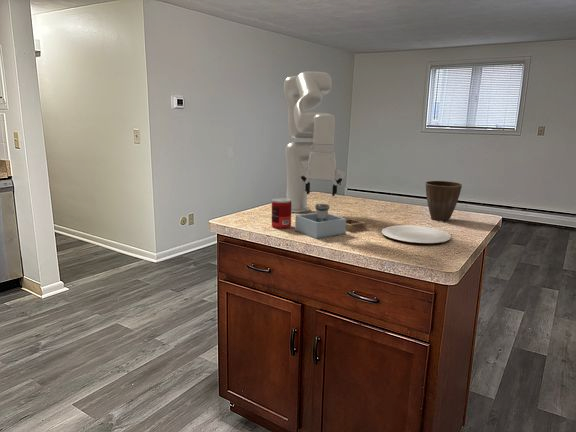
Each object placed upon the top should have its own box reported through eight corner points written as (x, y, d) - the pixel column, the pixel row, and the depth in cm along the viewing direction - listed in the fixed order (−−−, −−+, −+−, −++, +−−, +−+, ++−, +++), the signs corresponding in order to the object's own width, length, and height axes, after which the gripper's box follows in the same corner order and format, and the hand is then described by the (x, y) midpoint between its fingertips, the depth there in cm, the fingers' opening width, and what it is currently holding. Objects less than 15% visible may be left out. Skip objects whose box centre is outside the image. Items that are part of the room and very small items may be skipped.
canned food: (293, 225, 180) (294, 198, 177) (287, 229, 172) (287, 202, 170) (275, 223, 182) (276, 197, 180) (268, 227, 175) (268, 200, 172)
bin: (295, 230, 171) (295, 215, 170) (323, 226, 178) (323, 211, 177) (316, 239, 160) (316, 222, 159) (345, 234, 167) (346, 218, 166)
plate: (399, 225, 184) (399, 221, 183) (460, 237, 168) (460, 232, 168) (369, 237, 165) (369, 233, 164) (434, 251, 149) (435, 246, 149)
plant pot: (458, 224, 186) (462, 187, 182) (421, 221, 190) (424, 184, 187) (457, 217, 200) (461, 182, 196) (423, 214, 204) (426, 180, 201)
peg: (313, 232, 167) (314, 206, 165) (315, 228, 172) (316, 203, 170) (327, 233, 166) (328, 207, 164) (328, 229, 171) (330, 204, 169)
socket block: (334, 226, 179) (334, 220, 178) (351, 224, 183) (351, 218, 183) (348, 231, 171) (349, 225, 171) (366, 228, 176) (366, 222, 175)
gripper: (297, 148, 160) (296, 194, 165) (345, 151, 157) (343, 198, 162) (301, 146, 168) (300, 191, 172) (347, 148, 164) (344, 194, 169)
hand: (320, 194), depth 167 cm, fingers open, 9 cm apart
